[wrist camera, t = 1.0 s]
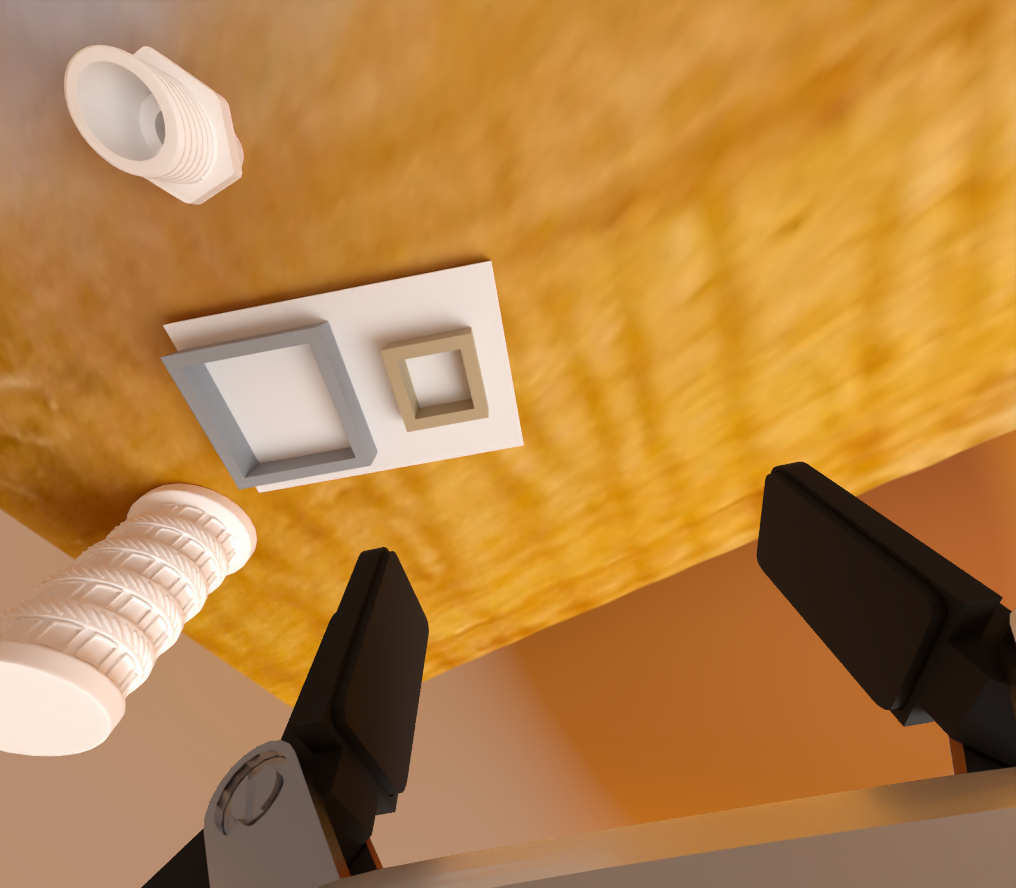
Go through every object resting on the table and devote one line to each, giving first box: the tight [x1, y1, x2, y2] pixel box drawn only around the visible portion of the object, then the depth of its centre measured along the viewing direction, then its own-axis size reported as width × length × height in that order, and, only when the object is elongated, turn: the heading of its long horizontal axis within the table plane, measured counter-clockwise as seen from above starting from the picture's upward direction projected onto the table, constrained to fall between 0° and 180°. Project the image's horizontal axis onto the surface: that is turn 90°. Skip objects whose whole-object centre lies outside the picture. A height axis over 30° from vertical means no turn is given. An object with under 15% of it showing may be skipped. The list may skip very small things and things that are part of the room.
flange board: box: [160, 260, 524, 493], centre depth 33 cm, size 16×26×4 cm, turn 100°
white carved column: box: [0, 483, 257, 756], centre depth 33 cm, size 12×12×18 cm
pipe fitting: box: [64, 45, 244, 205], centre depth 23 cm, size 6×7×8 cm
